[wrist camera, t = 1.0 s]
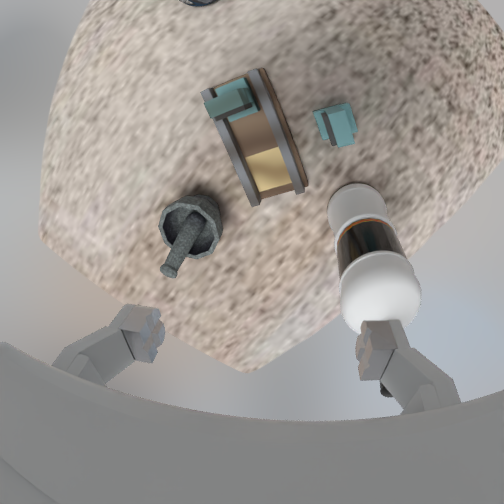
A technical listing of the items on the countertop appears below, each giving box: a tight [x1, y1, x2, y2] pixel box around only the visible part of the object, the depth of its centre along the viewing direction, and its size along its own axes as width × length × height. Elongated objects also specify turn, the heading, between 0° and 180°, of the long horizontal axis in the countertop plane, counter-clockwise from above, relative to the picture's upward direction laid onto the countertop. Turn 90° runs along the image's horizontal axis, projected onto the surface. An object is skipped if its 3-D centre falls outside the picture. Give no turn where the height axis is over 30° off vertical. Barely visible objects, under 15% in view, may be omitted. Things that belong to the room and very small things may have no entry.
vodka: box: [327, 183, 421, 397], centre depth 28 cm, size 9×9×30 cm
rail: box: [201, 68, 308, 207], centre depth 33 cm, size 18×9×10 cm, turn 22°
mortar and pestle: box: [158, 194, 223, 278], centre depth 41 cm, size 11×9×12 cm
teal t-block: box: [313, 103, 358, 148], centre depth 30 cm, size 5×4×8 cm
